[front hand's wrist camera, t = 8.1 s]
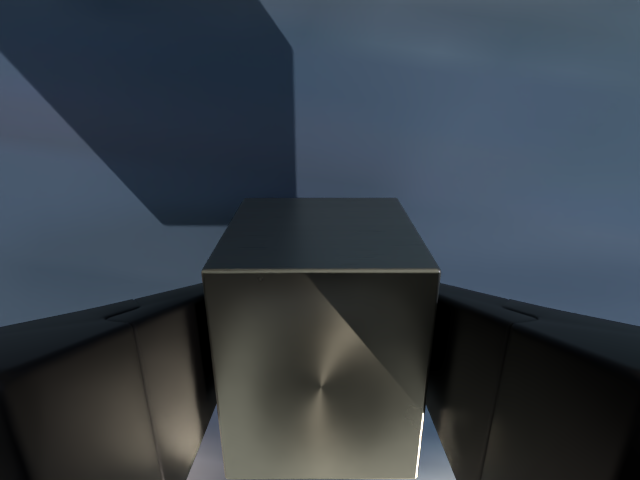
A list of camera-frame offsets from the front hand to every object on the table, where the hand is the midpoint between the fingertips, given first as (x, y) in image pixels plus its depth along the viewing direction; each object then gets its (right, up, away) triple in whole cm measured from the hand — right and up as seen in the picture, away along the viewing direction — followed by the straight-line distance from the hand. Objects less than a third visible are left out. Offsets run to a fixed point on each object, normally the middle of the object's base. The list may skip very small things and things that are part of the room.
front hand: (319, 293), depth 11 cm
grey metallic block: (0, 0, +1) cm, 1 cm away
